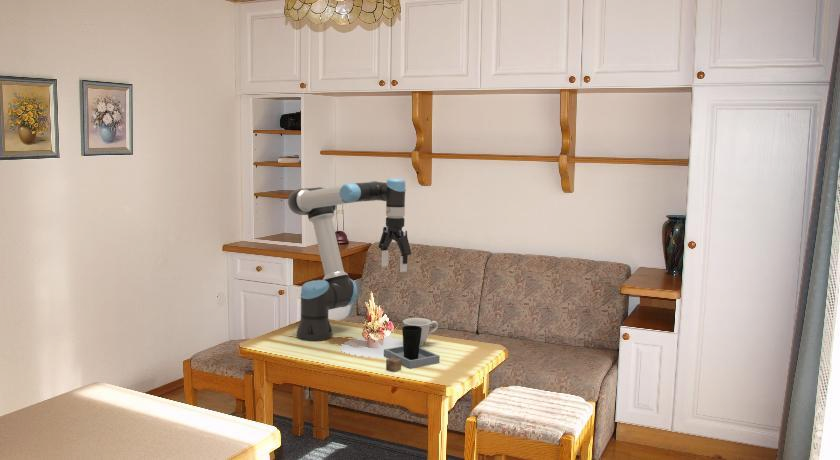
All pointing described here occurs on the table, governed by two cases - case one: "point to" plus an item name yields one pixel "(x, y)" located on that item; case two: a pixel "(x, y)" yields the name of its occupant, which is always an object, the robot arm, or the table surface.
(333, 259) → the robot arm
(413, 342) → the cup
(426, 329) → the teacup
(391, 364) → the walnut block
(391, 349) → the tray
